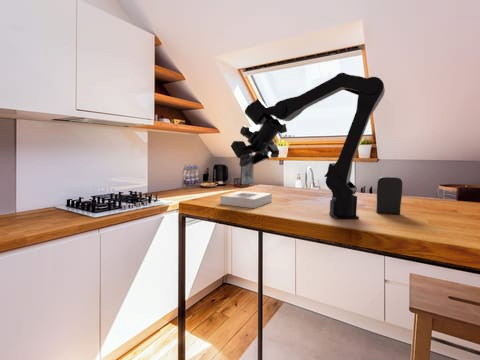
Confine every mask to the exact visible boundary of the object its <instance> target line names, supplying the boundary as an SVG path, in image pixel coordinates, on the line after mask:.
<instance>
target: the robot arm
mask: <svg viewBox="0 0 480 360" xmlns="http://www.w3.org/2000/svg"><path fill="white" fill-rule="evenodd" d="M385 90H386V89H385V84H384V82H383V80H382V79H381V78H379V77H378V76H370V77H364V76H360V75H353V74H349V73H345V72H339V73H337V74H336V75H335V76H334V77H332V78H330V79H328V80H325V81H324V82H322V83H320V84H318V85H317V86H315V87H313V88H311V89H309V90H307V91H306V92H304V93H302V94H300V95H297V96H293V97H289V98H285V99H282V100H279V101H277V102H276V103H275V104H274V105H271V106H267V105H266V104H265V103H264V101H262V100H261V99H260V98H257V99H255V101H252V102H251V103H249V104H248V105H247V106H246V108H245V110H244V114H245V115H246V116H247V117H248V118H249V120H251V121H252V122H253V124H254V125H256V126H258V125H261V127H260V128H259V129H257V128H256V127H252V126H248V125H243V126H242V127H241V128H240V131H239V133H240V135H241V136H242V137H245V138H246V139H247V140H246V141H247V142H248V144H246V143H245V142H244V140H233V141H232V143H231V145H230V148H231V149H232V151H233V153H234V155H235V156H236V158H238V159H239V164H238V165H239V167H241V168H242V166H243V165H244V164H246V163H247V162H248V161H250V160H251V159H252V158H251V157H250V155H251V154H254V166H255V165H257V164H258V163H261V162H263V161H266V160H269V159H270V157H271V158H273V159H274V158H277V157H278V156H279V155H280V150H279V148H278V147H277V146H276V143H275V141H274V140H275V138H276V136H277V135H278V133H279V134H284V133H287V132H288V130H287V129H288V128H287V123H282V122H281V121H283V122H290V121H293V120H294V119H295V118H298V116H299V115H300V114H301V113H303V111H305V110H306V109H308V108H309V107H311V106H313V105H315V104H318V103H319V102H321V101H323V100H325V99H327V98H329V97H331V96H334V95H335V94H337V93H339V92H341V91H346V92H348V93H351V94H354V95H356V96H357V100H356V102H357V103H356V109H355V110H356V111H355V113H354V116H353V118H352V119H353V120H352V122H351V125H350V127H349V130H348V132H347V134H346V138H345V141H344V143H343V146H342V148H341V151H340V154H339V157H338V159H337V160H336V161H335V162H331V163H329V164H328V168H327V172H326V174H325V175H324V178H325V185H326V186H327V188H328V189H329V190H330V191H331V193H332V195H331V199H330V200H329V213H328V214H329V215H330V216H332V217H333V218H335V219H339V220H340V219H345V220H346V219H359V218H360V216H358V215H357V209H358V208H357V206H358V196H357V195H355V194H356V192H357V190H358V188H357V186H356V185H355V183H353V182H351V177H352V176H351V175H352V169H353V162H354V159H355V156H356V154H357V152H358V148H359V147H360V144H361V142H362V139H363V137H364V134H365V131H366V129H367V126H368V123H369V120H370V118H371V116H372V114H373V113H374V111H375V110H376V108H377V107H378V105H379V104H380V102H381V101H382V99H383V97H384V95H385ZM274 117H275V118H274ZM279 120H280V121H279ZM269 153H270V156H269Z"/></svg>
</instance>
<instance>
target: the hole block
mask: <svg viewBox="0 0 480 360" xmlns="http://www.w3.org/2000/svg"><path fill="white" fill-rule="evenodd" d="M272 196H273V193H268V192H267V193H266V192H255V191H245V190H239V191H238V190H237V191H235V192H231V193H226V194H223V195H222V194H221V195H220V198H219V199H220V200H219V201H220V202H219V203H220V205H226V206H234V207H242V208H251V209H256V208H258V207H261V206H263V205H266V204H269V203H271V202H272V201H273V197H272Z"/></svg>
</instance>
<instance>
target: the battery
mask: <svg viewBox="0 0 480 360" xmlns="http://www.w3.org/2000/svg"><path fill="white" fill-rule="evenodd" d="M403 187H404V185H403V179H402V178H401V177H397V176H380V177H379V178H378V179H377V181H376V203H375V204H376V205H375V206H376V207H375V208H376V209H375V212H376V213H378V214H389V215H400V214H401V207H402V206H401V205H402V199H403Z"/></svg>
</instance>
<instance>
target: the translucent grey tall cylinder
mask: <svg viewBox="0 0 480 360" xmlns="http://www.w3.org/2000/svg"><path fill="white" fill-rule="evenodd" d="M254 155H255V153H252V154H251V155H250V157H251V158H252V159H251V160H250V161H248V162H247V163H246V164H244V165H243V166H242V167H241V185H245V186H252V185H254V167H255V165H254Z"/></svg>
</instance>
